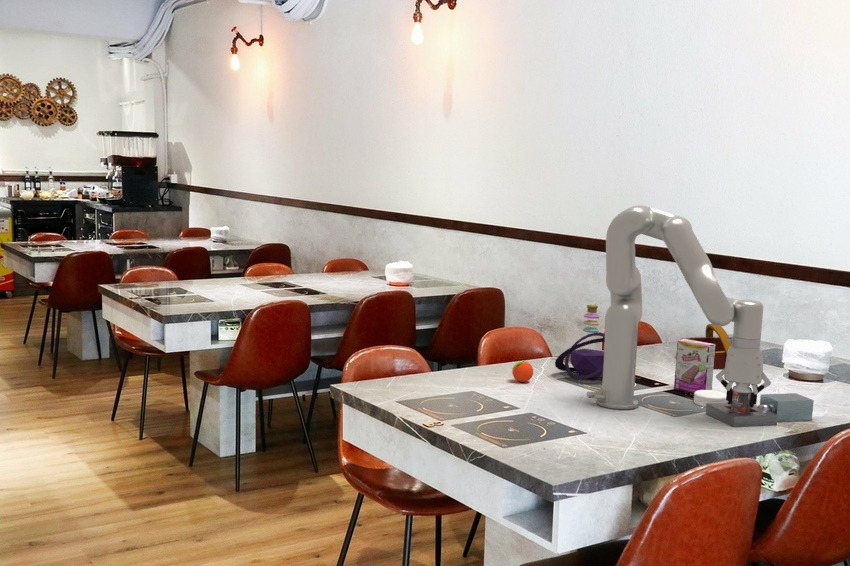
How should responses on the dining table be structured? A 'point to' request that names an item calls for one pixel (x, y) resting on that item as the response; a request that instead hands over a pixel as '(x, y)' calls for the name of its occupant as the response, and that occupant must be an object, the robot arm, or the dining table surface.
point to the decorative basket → (716, 344)
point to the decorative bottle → (584, 352)
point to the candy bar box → (694, 365)
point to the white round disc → (709, 397)
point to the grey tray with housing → (765, 411)
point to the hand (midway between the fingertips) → (740, 404)
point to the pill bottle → (741, 398)
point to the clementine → (522, 371)
